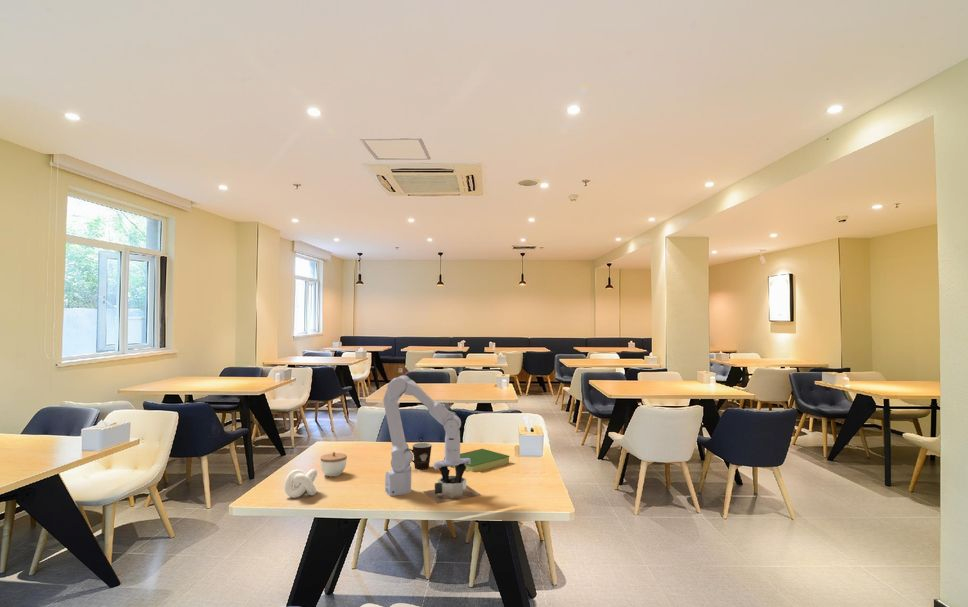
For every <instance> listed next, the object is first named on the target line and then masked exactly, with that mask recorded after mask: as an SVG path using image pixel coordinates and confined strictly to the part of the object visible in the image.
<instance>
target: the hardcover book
mask: <svg viewBox="0 0 968 607" xmlns="http://www.w3.org/2000/svg"><path fill="white" fill-rule="evenodd" d="M460 458H470V459H471V464H465V466H466V469H465V471H464V472H467V473H469V472H473V471H474V472H475V471H477V472H481V471H485V470H488V469H492V468H496V467H500V466H503V465H506V464H509V463H510V455H508V454H504V453H501V452H496V451H493V450H489V449H486V448H480V449H476V450H475V449H474V450H470V451H467V452H466V451H465V452H462V453H461V452H460ZM443 460H445V456H444V458H443ZM450 467H452V468H454V469H455V466H450Z"/></svg>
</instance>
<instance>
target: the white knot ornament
mask: <svg viewBox="0 0 968 607" xmlns="http://www.w3.org/2000/svg"><path fill="white" fill-rule="evenodd" d="M317 477H318V470H317V469H316V468H312V469H310V470H308V471H307V472H305V471H304V470H302V469H298V468H297V469H293V470H291V471H290V472H289V473H288V474H287V476H286V478H285V480H284V486H283V487H284V493H285V494H286V495H287V496H288V497H289V498H292V499H296V498H297V499H298V498H299V497H301V496H302V495H304V493H305V492H306V493H307V494H308V495H309V496H314V495H316V493H317V488H316V486H315V485H314V481H315V480H316V478H317Z"/></svg>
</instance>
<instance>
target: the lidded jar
mask: <svg viewBox="0 0 968 607" xmlns="http://www.w3.org/2000/svg"><path fill="white" fill-rule="evenodd" d="M347 457H348V456H347V454H346V453H342V452H341V453H340V452H335V451H334V452H332V453H326V454H323V455H322V456H320V467H321V471H322V473H323V474H324V475H325V476H326V477H328V476H330V477H329V478H332V477H331V476H335V477H339V476H340V474H342V473H343V472H344V470H345V469H346V465H347Z"/></svg>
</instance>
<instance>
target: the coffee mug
mask: <svg viewBox="0 0 968 607" xmlns="http://www.w3.org/2000/svg"><path fill="white" fill-rule="evenodd" d="M432 447H433V446H432V443H428V442H418V443H413V444H412V448H409V450H410V451H411V452H412V454H413V460H412V462H411V463H413V464H414V469H415V470H420V471H421V470H422V471H423V470H424V471H425V470H428V469H429V467H430V462H431V453H432Z"/></svg>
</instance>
